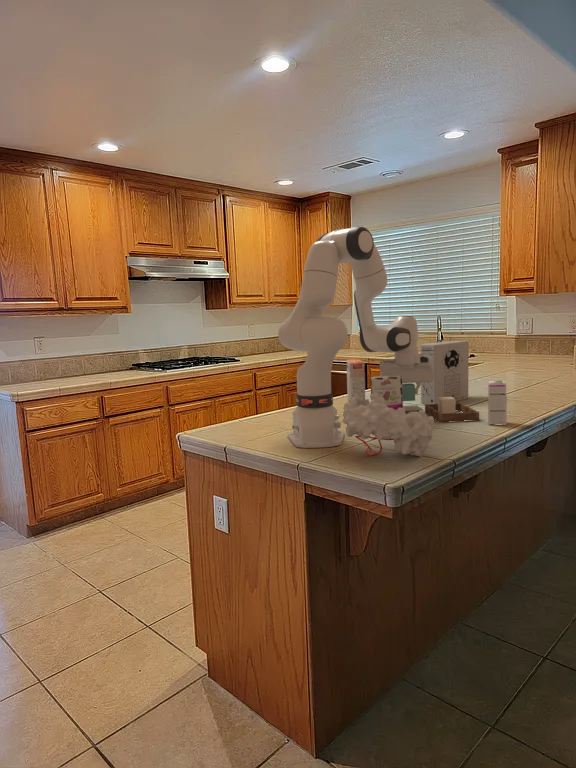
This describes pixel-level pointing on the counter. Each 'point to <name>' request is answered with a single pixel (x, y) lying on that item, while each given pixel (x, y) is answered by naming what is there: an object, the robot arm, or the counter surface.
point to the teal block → (408, 392)
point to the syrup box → (497, 402)
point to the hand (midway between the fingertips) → (407, 394)
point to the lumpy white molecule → (388, 424)
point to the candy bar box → (388, 390)
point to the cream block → (446, 405)
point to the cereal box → (446, 371)
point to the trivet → (412, 408)
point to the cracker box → (355, 379)
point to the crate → (446, 417)
